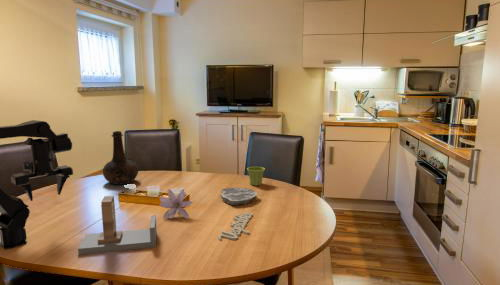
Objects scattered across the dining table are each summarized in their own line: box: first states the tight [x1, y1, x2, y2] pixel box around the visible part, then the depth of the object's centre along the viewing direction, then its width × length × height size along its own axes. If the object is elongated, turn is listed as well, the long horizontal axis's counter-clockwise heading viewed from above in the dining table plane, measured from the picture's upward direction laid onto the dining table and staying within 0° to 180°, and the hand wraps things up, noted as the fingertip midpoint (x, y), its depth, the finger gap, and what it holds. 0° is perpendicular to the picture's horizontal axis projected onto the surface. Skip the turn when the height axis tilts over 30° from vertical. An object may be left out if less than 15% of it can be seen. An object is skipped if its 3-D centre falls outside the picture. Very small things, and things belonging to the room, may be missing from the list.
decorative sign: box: [217, 211, 253, 242], centre depth 136 cm, size 26×1×10 cm
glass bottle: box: [102, 130, 139, 185], centre depth 190 cm, size 18×18×28 cm
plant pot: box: [246, 166, 266, 187], centre depth 189 cm, size 9×9×9 cm
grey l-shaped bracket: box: [77, 214, 158, 256], centre depth 121 cm, size 24×11×7 cm, turn 103°
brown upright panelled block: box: [98, 195, 123, 243], centre depth 119 cm, size 6×7×14 cm
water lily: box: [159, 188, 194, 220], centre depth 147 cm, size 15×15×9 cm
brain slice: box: [220, 187, 258, 206], centre depth 167 cm, size 20×17×3 cm
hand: (45, 197), depth 129 cm, fingers open, 9 cm apart
